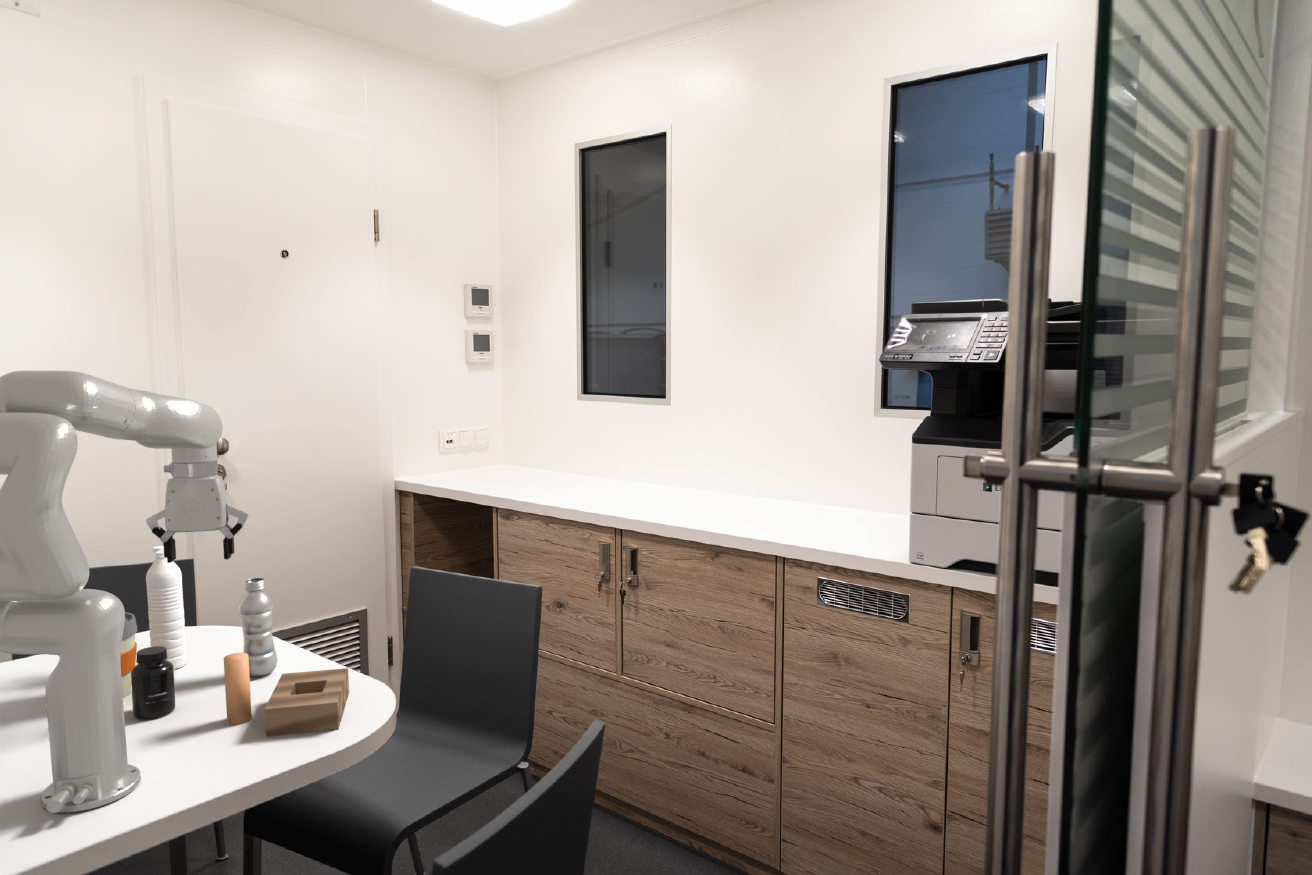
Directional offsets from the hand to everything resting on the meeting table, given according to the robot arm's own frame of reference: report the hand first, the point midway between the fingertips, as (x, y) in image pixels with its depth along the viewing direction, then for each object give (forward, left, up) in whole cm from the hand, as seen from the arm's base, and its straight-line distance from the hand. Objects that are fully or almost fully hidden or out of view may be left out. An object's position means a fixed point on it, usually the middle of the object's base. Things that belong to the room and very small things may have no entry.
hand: (200, 559), depth 159 cm
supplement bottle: (-5, +8, -28) cm, 29 cm away
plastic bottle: (+10, -7, -28) cm, 30 cm away
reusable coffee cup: (+5, +20, -28) cm, 34 cm away
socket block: (-12, -20, -27) cm, 36 cm away
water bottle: (+20, +13, -28) cm, 36 cm away
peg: (-12, -8, -27) cm, 31 cm away
